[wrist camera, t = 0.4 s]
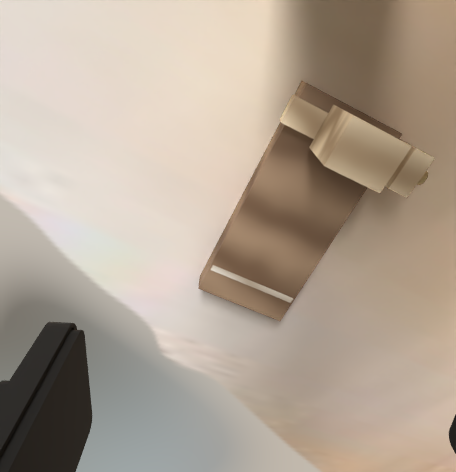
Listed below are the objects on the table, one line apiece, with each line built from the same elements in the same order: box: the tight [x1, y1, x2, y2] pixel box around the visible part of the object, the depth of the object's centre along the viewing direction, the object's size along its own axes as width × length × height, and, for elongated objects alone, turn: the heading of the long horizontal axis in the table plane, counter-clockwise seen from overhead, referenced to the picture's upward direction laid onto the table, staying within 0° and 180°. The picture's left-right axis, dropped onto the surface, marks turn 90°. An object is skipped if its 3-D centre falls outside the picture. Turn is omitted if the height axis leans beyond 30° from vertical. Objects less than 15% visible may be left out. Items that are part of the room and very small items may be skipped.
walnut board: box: [198, 81, 402, 321], centre depth 42 cm, size 23×10×3 cm, turn 154°
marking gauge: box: [280, 95, 435, 198], centre depth 35 cm, size 4×14×10 cm, turn 64°
